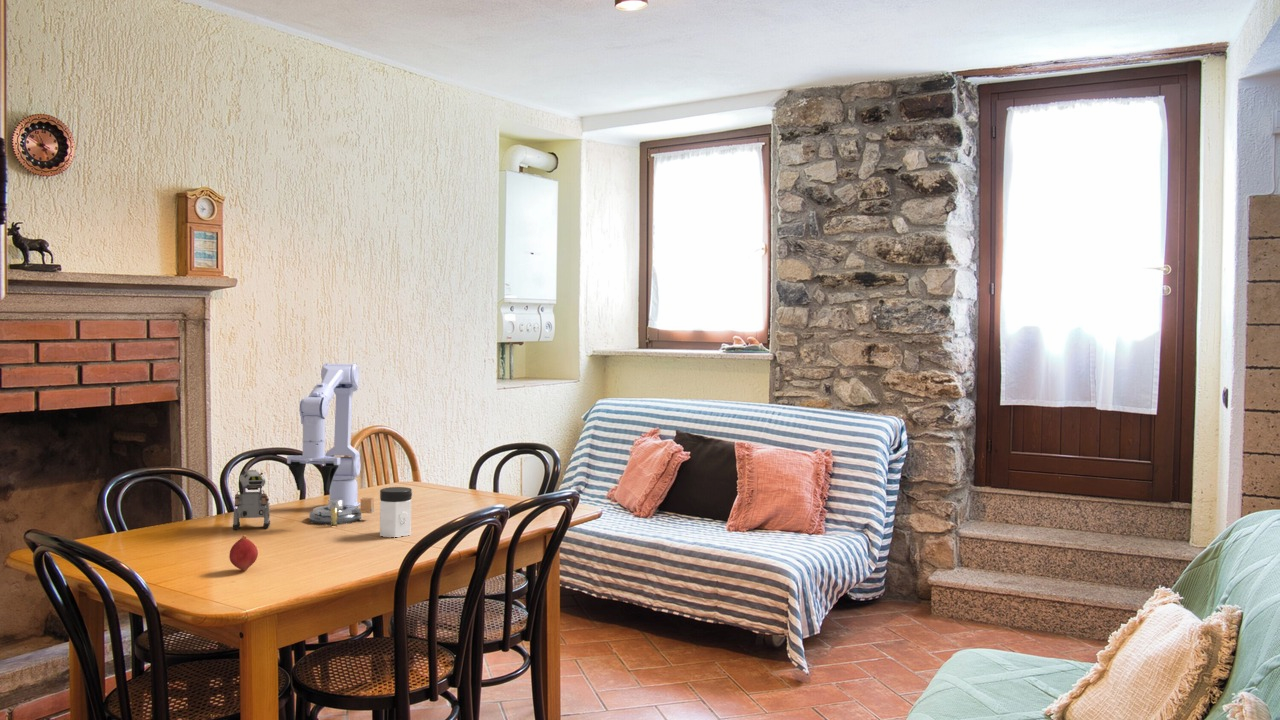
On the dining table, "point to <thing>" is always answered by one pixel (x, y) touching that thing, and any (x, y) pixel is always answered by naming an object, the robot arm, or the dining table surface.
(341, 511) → the grey handled ring
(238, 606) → the dining table surface
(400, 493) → the jar
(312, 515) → the post base
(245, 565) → the onion
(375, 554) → the dining table surface
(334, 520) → the dowel pin
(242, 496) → the figurine
